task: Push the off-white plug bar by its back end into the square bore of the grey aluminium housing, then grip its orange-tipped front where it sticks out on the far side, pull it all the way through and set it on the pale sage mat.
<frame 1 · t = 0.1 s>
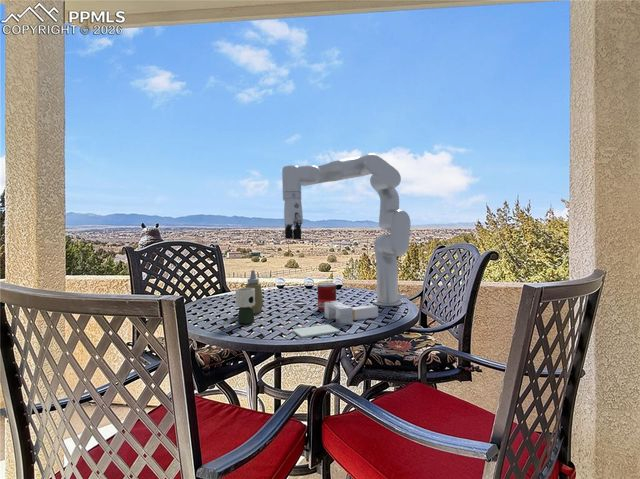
hand: (293, 238, 157), 31 cm above the table, tool pointing down, fingers open, 9 cm apart
housing: (338, 320, 148), on the table
squeeze bottle: (254, 313, 164), on the table
canned food: (327, 309, 168), on the table
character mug: (246, 323, 146), on the table
plug bar: (362, 317, 152), on the table
sage mat: (315, 331, 133), on the table
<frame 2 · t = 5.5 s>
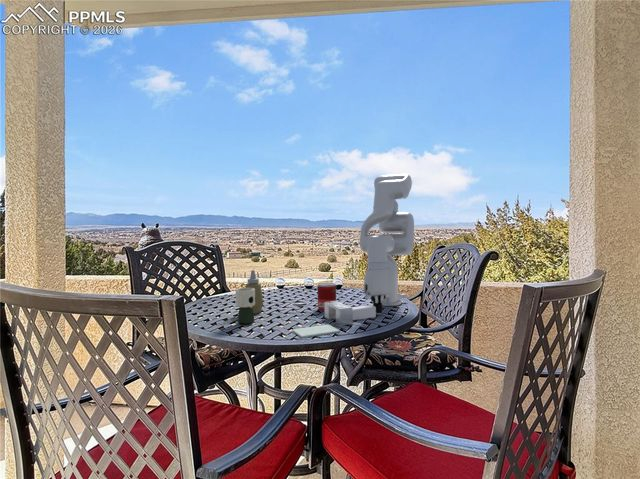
hand: (377, 312, 154), 1 cm above the table, tool pointing down, fingers closed
plug bar: (360, 317, 151), on the table, touching gripper
everything else where it was.
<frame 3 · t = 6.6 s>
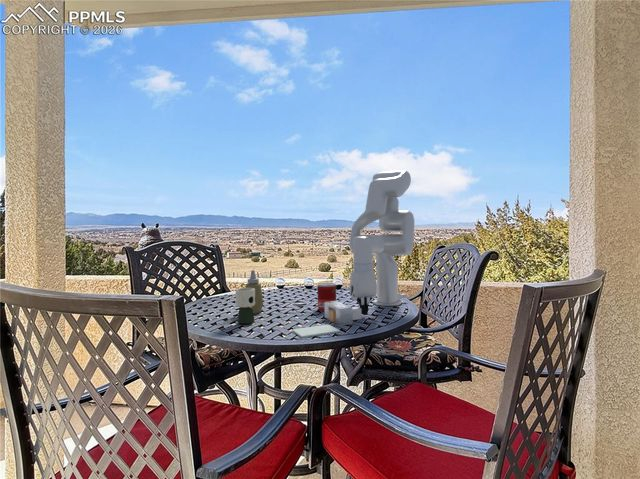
hand: (364, 314, 152), 1 cm above the table, tool pointing down, fingers closed
plug bar: (345, 319, 149), on the table, touching gripper
everything else where it was.
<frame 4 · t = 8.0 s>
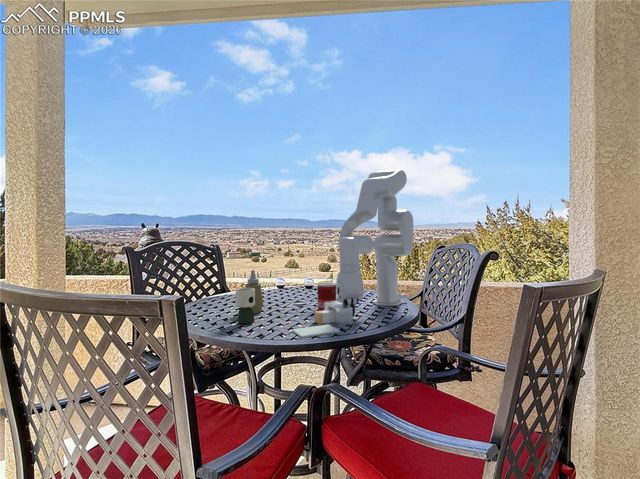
hand: (350, 315, 150), 1 cm above the table, tool pointing down, fingers closed
plug bar: (331, 321, 147), on the table, touching gripper
everything else where it was.
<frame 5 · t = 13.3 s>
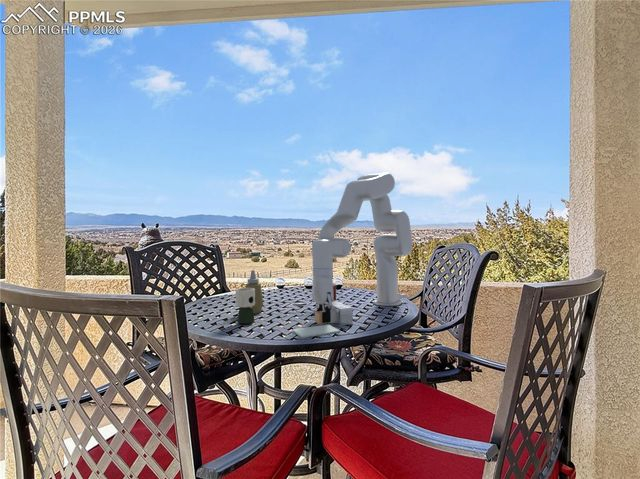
hand: (323, 320, 145), 1 cm above the table, tool pointing down, fingers closed on plug bar, 4 cm apart
plug bar: (331, 321, 146), on the table, touching gripper
everything else where it was.
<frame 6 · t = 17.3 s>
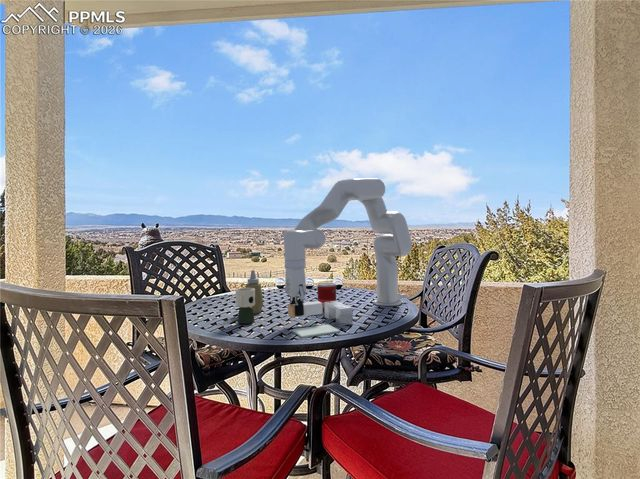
hand: (297, 313, 141), 4 cm above the table, tool pointing down, fingers closed on plug bar, 4 cm apart
plug bar: (305, 314, 142), point 4 cm above the table, touching gripper
everything else where it was.
when the fingers open (3 cm above the table, at t = 21.4 s): plug bar drops 1 cm, resting on sage mat.
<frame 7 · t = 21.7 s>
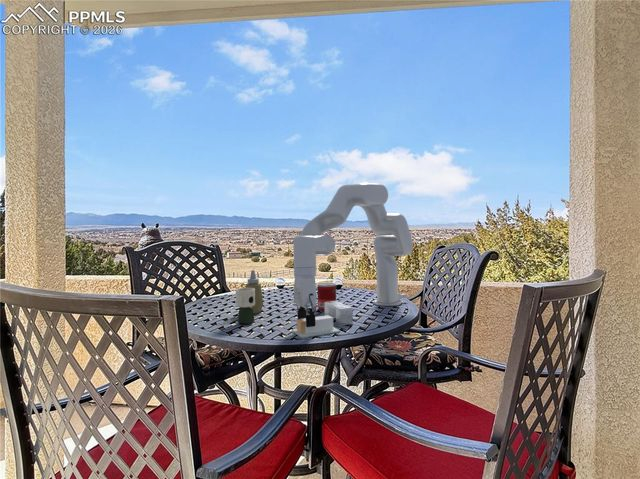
hand: (306, 323, 131), 3 cm above the table, tool pointing down, fingers open, 7 cm apart
plug bar: (315, 330, 133), point 1 cm above the table, touching sage mat
everything else where it was.
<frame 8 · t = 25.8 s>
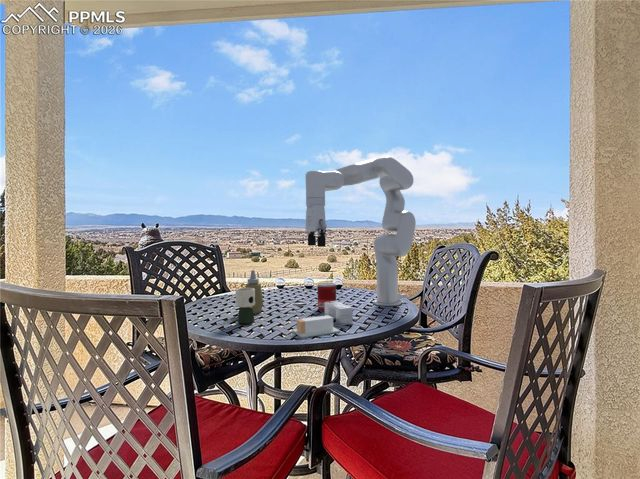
hand: (316, 246, 153), 28 cm above the table, tool pointing down, fingers open, 9 cm apart
nothing on the table moved.
at the end: plug bar inside the target area (0.3 cm from its centre), point 0.6 cm above the table; plug bar touching sage mat; plug bar tilted 0° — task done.
